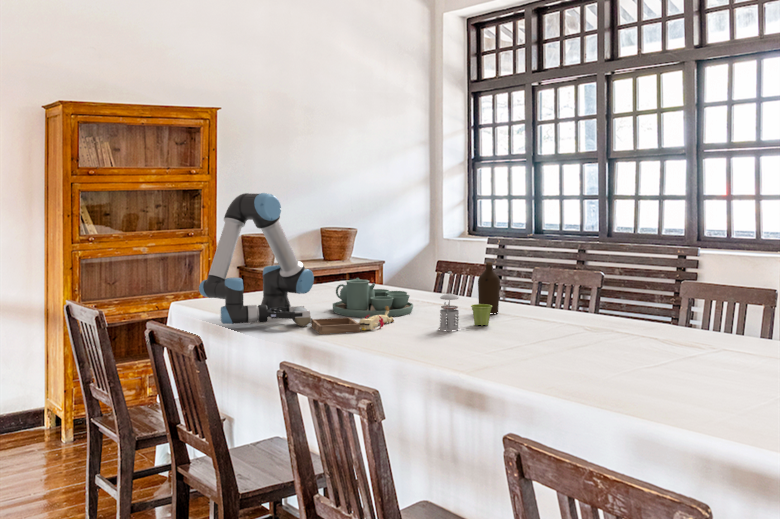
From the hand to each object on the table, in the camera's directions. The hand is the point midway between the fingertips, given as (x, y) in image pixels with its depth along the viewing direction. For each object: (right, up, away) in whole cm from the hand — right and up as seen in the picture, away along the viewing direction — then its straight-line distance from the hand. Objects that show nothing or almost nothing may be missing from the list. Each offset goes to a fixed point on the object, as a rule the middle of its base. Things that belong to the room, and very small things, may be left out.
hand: (306, 311), depth 301 cm
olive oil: (+84, -4, +34) cm, 91 cm away
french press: (+61, -7, -9) cm, 62 cm away
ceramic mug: (-1, -6, 0) cm, 6 cm away
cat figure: (+30, -7, -2) cm, 31 cm away
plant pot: (+77, -6, +2) cm, 77 cm away
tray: (+13, -7, -10) cm, 18 cm away
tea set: (+28, -3, +39) cm, 48 cm away
